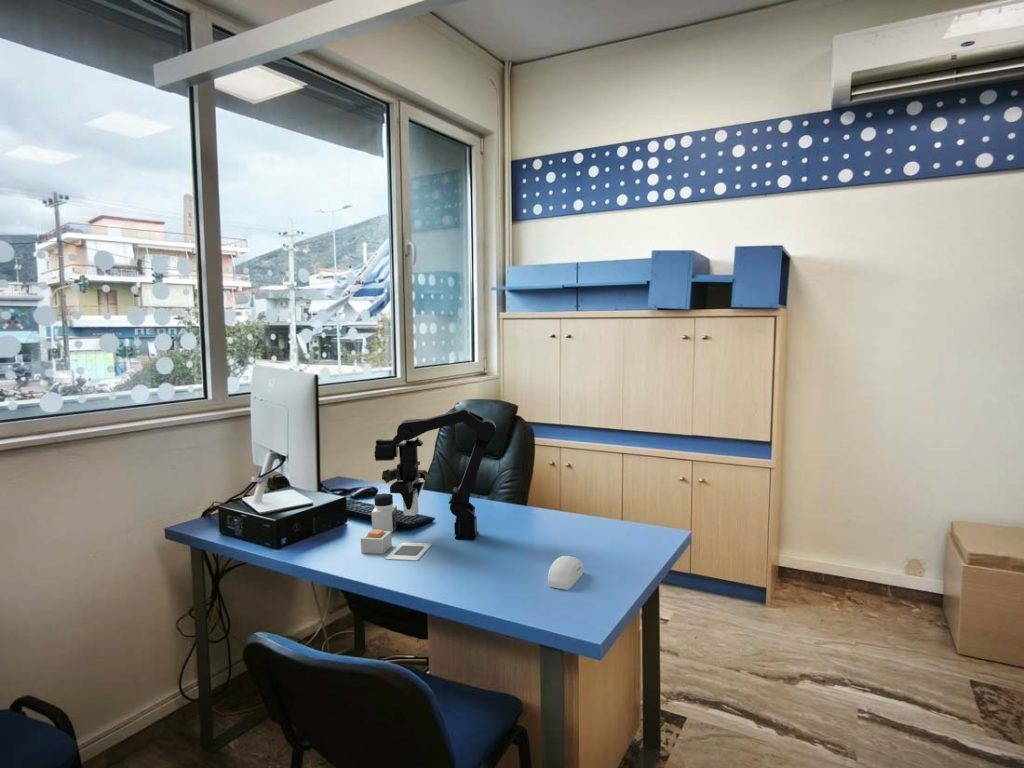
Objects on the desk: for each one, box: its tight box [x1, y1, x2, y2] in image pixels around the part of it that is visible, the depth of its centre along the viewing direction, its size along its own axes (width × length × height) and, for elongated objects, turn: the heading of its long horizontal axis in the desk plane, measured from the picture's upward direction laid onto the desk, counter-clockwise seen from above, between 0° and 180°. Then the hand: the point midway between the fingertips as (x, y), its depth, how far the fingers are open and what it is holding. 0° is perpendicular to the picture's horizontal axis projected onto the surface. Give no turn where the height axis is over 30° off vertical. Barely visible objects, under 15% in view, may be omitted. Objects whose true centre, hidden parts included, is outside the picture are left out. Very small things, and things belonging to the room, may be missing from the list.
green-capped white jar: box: [402, 488, 419, 516], centre depth 196 cm, size 4×4×8 cm
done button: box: [367, 529, 384, 538], centre depth 189 cm, size 4×4×2 cm
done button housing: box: [360, 530, 393, 555], centre depth 189 cm, size 7×7×4 cm
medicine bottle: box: [371, 492, 398, 533], centre depth 207 cm, size 7×7×12 cm
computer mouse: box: [547, 555, 584, 591], centre depth 162 cm, size 6×13×6 cm, turn 153°
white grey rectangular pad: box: [384, 542, 433, 562], centre depth 186 cm, size 10×13×1 cm
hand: (411, 507), depth 196 cm, fingers closed on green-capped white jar, 4 cm apart
